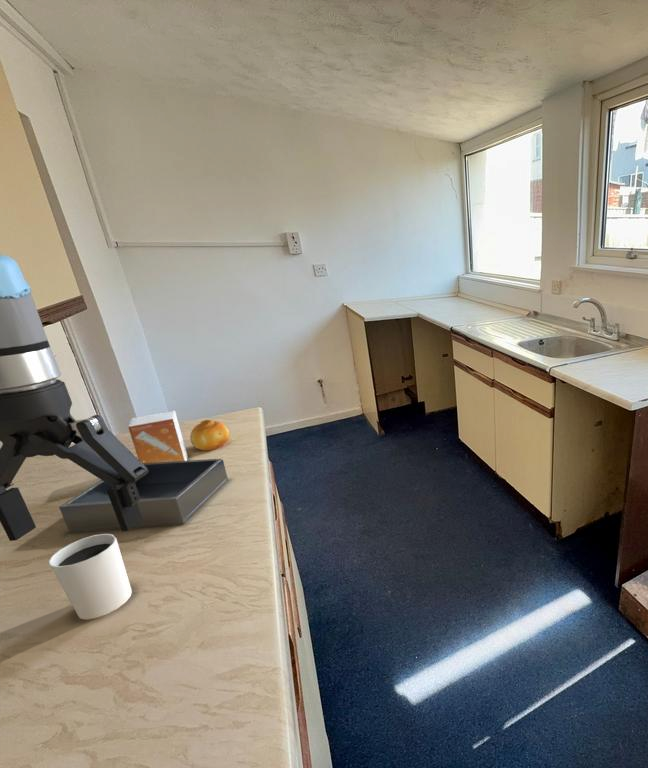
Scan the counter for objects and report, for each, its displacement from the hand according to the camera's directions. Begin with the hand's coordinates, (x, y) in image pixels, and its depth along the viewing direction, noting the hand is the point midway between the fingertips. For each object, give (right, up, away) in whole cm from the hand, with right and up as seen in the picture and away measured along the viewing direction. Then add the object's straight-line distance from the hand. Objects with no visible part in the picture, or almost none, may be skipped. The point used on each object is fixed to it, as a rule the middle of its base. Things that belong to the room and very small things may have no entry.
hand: (78, 529), depth 55 cm
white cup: (0, -13, +4) cm, 13 cm away
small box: (-25, 0, +42) cm, 49 cm away
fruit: (-21, +3, +52) cm, 56 cm away
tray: (-13, -5, +27) cm, 31 cm away
